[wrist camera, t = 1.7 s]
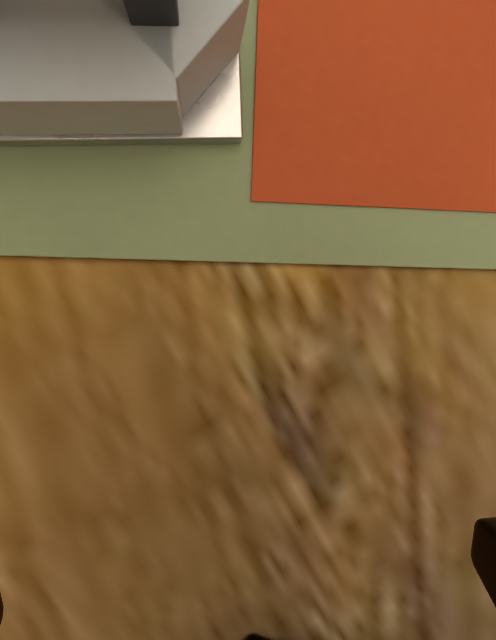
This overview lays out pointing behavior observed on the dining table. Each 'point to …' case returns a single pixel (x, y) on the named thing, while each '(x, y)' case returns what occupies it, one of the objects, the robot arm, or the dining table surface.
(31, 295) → the dining table surface
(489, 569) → the robot arm
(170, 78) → the iron
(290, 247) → the ironing mat
